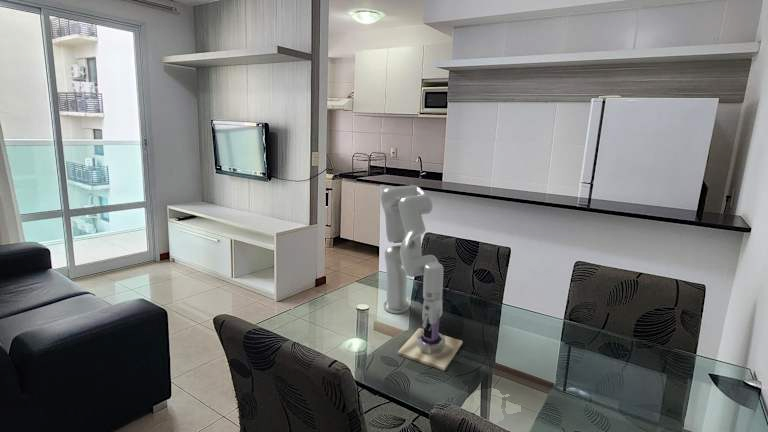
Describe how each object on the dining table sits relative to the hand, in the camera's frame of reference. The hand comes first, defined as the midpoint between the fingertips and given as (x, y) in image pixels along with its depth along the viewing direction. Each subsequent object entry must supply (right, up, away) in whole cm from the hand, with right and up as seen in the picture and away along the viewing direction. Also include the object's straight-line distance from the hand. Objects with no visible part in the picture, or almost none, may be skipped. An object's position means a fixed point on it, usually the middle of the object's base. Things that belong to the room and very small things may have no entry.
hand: (431, 332), depth 167 cm
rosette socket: (0, -7, +2) cm, 7 cm away
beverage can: (0, -5, +1) cm, 5 cm away
